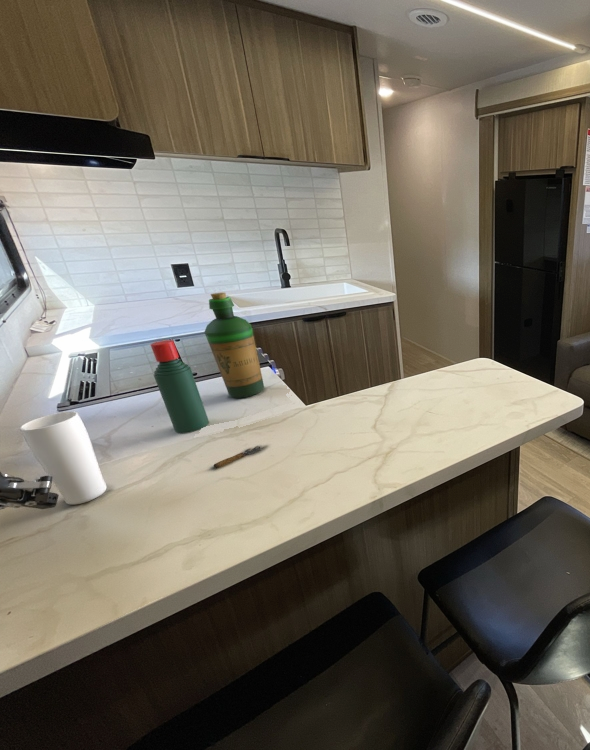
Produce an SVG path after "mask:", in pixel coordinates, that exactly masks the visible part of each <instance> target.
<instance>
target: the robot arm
mask: <svg viewBox="0 0 590 750" xmlns="http://www.w3.org/2000/svg"><path fill="white" fill-rule="evenodd" d="M52 478H53V477H52V476H48V475H42V476H40V477H39V478H34V481H29V480H24V479H23V478H22V477H18V476H14V475H12V474H7V473H2V472H1V471H0V510H5V509H6V508H13V509H20V508H30V509H38V510H46V509H52V508H53V509H54V508H56V507H57V504H58V500H59V494H58V493H56V492H51V488H52V483H53V482H52Z"/></svg>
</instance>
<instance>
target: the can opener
mask: <svg viewBox="0 0 590 750" xmlns="http://www.w3.org/2000/svg"><path fill="white" fill-rule="evenodd" d="M264 448H265V447H264V446H263V447H260V446H259V445H256V446H254V447H253V448H252V449H251V448H247V449H245V450H244V451H243V452H239V453H238V454H235V455H233V456H230V457H228V458H225V459H222V460H220V461H218V462H215V463H214V464H213V467H214V468H215V469H219V468H222V467H225V466H227V465H229V464H230V463H232V462H235V461H236V460H239V459H241V458H243V457H245V456H247V455H254V454H257V453H259V452H261V451H262V450H263V449H264ZM256 449H257V450H256Z"/></svg>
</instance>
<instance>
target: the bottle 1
mask: <svg viewBox="0 0 590 750" xmlns="http://www.w3.org/2000/svg"><path fill="white" fill-rule="evenodd" d="M153 373H154V374H153V377H154V380H155V383H156V385H157V387H158V390H159V393H160V395H161V398H162V401H163V403H164V406H165V408H166V412H167V414H168V417H169V419H170V422H171V424H172V427H173V430H174V432H175V433H176V434H187V433H192V432H196V431H199V430H201V429H203V428H205V427H207V426H208V425H209V424H210V421H209V418H208V415H207V411H206V409H205V406H204V403H203V399H202V397H201V395H200V391H199V389H198V385H197V383H196V380H195V376H194V374H193V371H192V369H191V367H190V366H189V364H186V362H183V361H182V360H180V359H179V358H177V359H174V360H170V361H165V362H158V364H157V367H156V368H155V370H154V371H153Z"/></svg>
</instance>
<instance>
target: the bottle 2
mask: <svg viewBox="0 0 590 750" xmlns="http://www.w3.org/2000/svg"><path fill="white" fill-rule="evenodd" d="M210 297H211V298H210V299H208V308H209V310H212V312H213V314H214V317H215V318H214V319H212V320H211V321H209V323H208V324H207V325H206V327H205V330H204V334H205V337H206V340H207V342H208V345H209V347H210V350H211V352H212V355H213V358H214V360H215V362H216V366H217V368H218V371H219V373H220V375H221V378H222V381H223V384H224V386H225V388H226V390H227V393H228V396H229V397H231V398H234V399H244V398H249V397H253V396H255V395H258V394H260V393H261V392H263V391H264V389H265V384H264V379H263V374H262V371H261V366H260V365H261V364H260V359H259V356H258V351H257V346H256V341H255V336H254V332H253V331H254V330H253V327H252V324H251V323H250V322H249V321H248V320H247V319H245V318H242V317H240V316H237V315H234V314H235V313H234V309H233V307H235V303H234V302H233V300H232V298H231V297H230V296H227V293H226V292H215V293H211V294H210Z"/></svg>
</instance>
